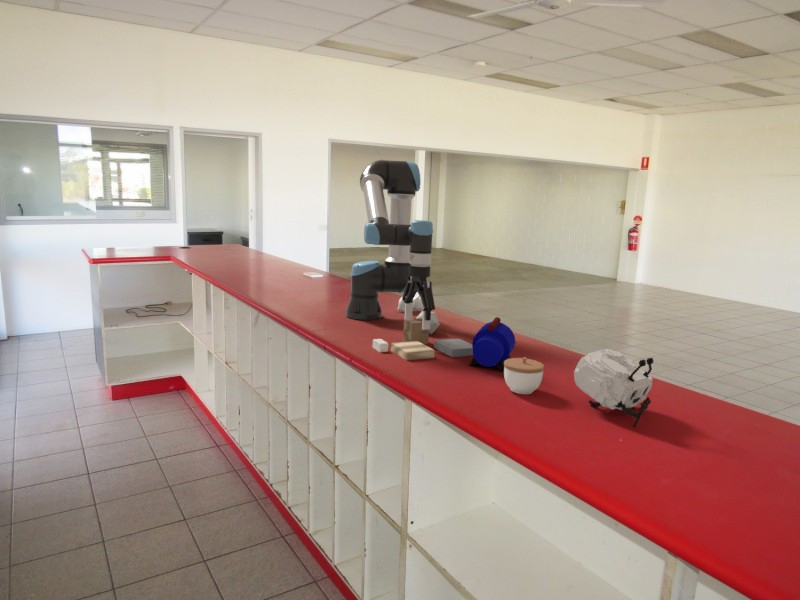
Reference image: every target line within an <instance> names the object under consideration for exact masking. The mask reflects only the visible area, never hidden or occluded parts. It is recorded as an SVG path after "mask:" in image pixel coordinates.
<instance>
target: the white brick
mask: <svg viewBox="0 0 800 600" xmlns="http://www.w3.org/2000/svg"><path fill="white" fill-rule="evenodd" d="M372 349H374V350H376V351H377V352H378V353H384V352H389V342H388V341H386V340H384V339H382V338H373V339H372Z"/></svg>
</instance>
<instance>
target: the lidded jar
mask: <svg viewBox="0 0 800 600" xmlns="http://www.w3.org/2000/svg"><path fill="white" fill-rule="evenodd" d="M544 370H545V365H544V364H543V363H542V362H540V361H537V360H534V359H532V358H531V359H530V358H527V357H525V356H523V357H511V359H507V360H505V361H504V371H503V376H504V380H505V383H506V385H507V387H508V388H509V389H510V391H511V392H512V393H515V394H517V395H531V394H533V392H534V391H536V390H537V389H538V388H539V386H540V385H541V383H542V380H543V376H544Z"/></svg>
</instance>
